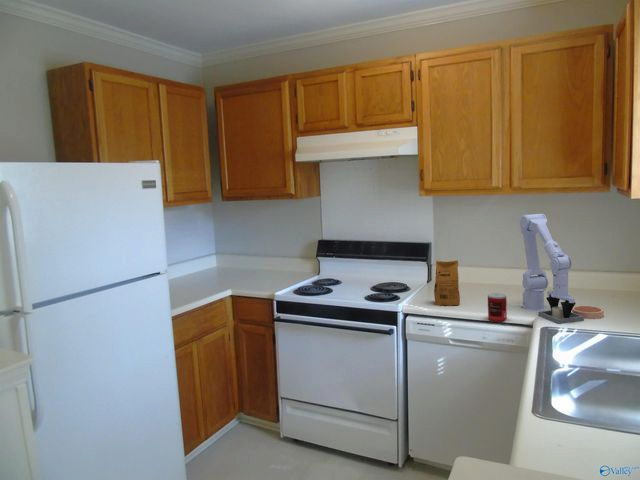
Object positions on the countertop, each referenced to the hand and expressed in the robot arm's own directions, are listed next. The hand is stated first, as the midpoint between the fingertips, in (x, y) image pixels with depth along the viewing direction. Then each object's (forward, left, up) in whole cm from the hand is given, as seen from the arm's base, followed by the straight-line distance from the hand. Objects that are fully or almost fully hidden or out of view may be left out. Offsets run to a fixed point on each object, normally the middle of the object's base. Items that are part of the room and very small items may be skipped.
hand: (560, 315), depth 205 cm
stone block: (0, 0, -1) cm, 1 cm away
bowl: (0, +13, -2) cm, 13 cm away
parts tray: (0, 0, -2) cm, 2 cm away
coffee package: (-43, -32, -2) cm, 53 cm away
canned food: (-10, -24, -2) cm, 26 cm away
